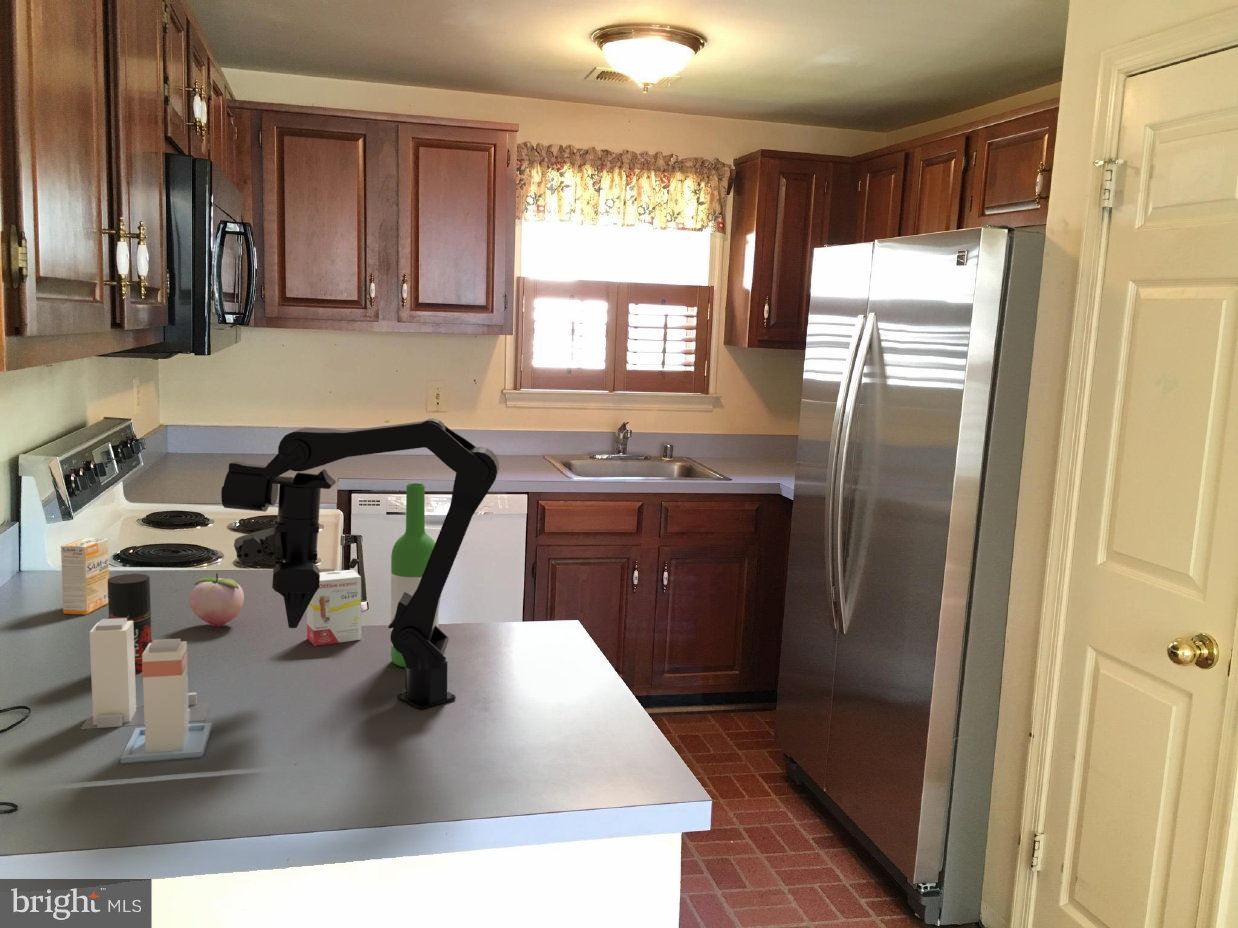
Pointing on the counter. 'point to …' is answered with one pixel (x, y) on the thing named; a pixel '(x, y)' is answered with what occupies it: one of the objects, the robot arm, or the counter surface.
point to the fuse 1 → (113, 668)
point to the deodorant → (132, 608)
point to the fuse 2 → (165, 695)
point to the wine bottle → (410, 554)
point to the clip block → (195, 708)
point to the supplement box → (85, 575)
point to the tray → (192, 750)
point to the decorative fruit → (216, 600)
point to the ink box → (335, 609)
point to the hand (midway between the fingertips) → (292, 616)
